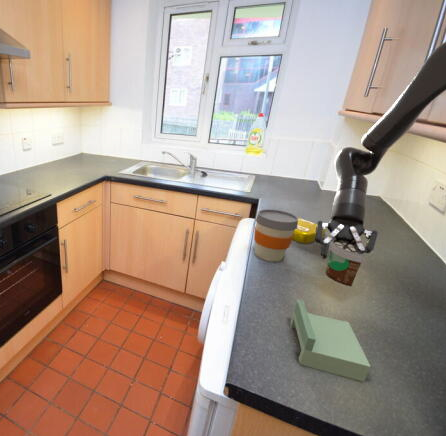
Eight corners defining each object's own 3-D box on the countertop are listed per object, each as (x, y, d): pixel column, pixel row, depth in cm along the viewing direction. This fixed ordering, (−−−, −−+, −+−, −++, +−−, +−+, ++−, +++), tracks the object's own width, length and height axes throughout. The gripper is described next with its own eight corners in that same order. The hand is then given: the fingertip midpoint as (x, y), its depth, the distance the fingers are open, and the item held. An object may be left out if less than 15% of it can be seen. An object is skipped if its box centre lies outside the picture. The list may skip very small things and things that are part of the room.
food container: (316, 262, 90) (325, 232, 86) (341, 266, 88) (351, 236, 84) (325, 284, 79) (335, 251, 76) (352, 289, 77) (365, 255, 73)
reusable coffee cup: (293, 266, 97) (305, 224, 92) (253, 262, 99) (262, 220, 94) (281, 248, 109) (291, 210, 103) (245, 245, 111) (253, 207, 105)
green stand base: (343, 335, 68) (352, 311, 66) (363, 382, 57) (376, 354, 54) (290, 323, 72) (297, 299, 69) (299, 364, 61) (308, 337, 58)
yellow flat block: (325, 237, 119) (328, 226, 118) (305, 245, 112) (308, 233, 110) (289, 224, 131) (292, 214, 129) (268, 230, 124) (271, 220, 122)
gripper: (321, 197, 86) (311, 249, 80) (385, 206, 79) (379, 264, 74) (316, 209, 92) (307, 258, 87) (375, 218, 85) (368, 272, 80)
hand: (340, 260), depth 80 cm, fingers closed on food container, 6 cm apart
